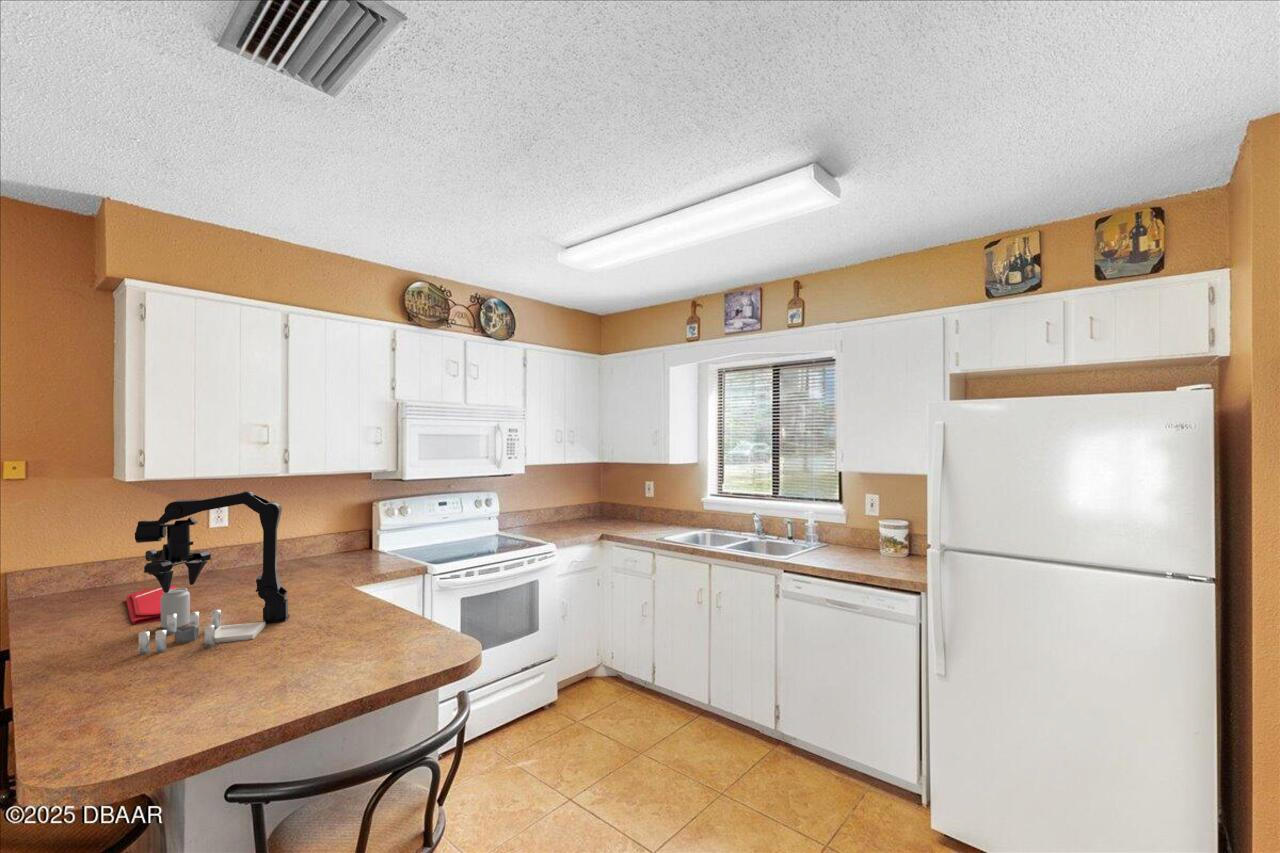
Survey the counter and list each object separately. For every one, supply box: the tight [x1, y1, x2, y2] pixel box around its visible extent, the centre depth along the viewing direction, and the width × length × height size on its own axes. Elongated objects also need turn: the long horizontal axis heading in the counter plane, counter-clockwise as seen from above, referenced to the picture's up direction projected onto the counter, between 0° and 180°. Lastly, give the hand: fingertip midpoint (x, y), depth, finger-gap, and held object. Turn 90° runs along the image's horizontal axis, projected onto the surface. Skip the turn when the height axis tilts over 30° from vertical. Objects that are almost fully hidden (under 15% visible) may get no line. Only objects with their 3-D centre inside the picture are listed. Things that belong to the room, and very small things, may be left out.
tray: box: [203, 621, 266, 645], centre depth 181 cm, size 13×13×2 cm
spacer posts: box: [138, 609, 222, 656], centre depth 177 cm, size 18×20×6 cm
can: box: [160, 587, 191, 630], centre depth 190 cm, size 8×8×12 cm
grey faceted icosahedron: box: [174, 625, 199, 644], centre depth 177 cm, size 5×6×4 cm
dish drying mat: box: [126, 585, 191, 626], centre depth 212 cm, size 16×41×4 cm, turn 44°
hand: (179, 588), depth 185 cm, fingers open, 9 cm apart
